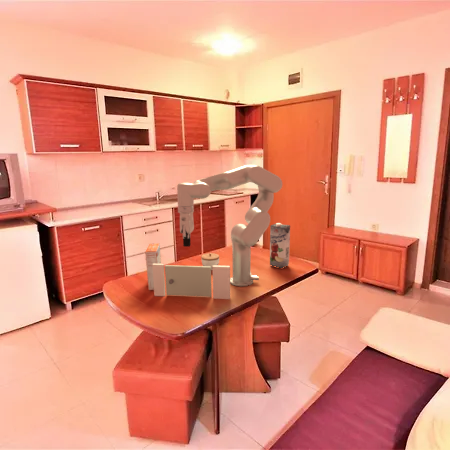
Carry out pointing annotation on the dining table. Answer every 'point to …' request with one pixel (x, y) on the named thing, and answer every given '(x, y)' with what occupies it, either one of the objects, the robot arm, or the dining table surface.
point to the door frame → (219, 281)
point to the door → (188, 280)
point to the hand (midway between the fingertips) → (187, 246)
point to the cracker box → (152, 262)
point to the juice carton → (279, 245)
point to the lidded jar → (210, 259)
